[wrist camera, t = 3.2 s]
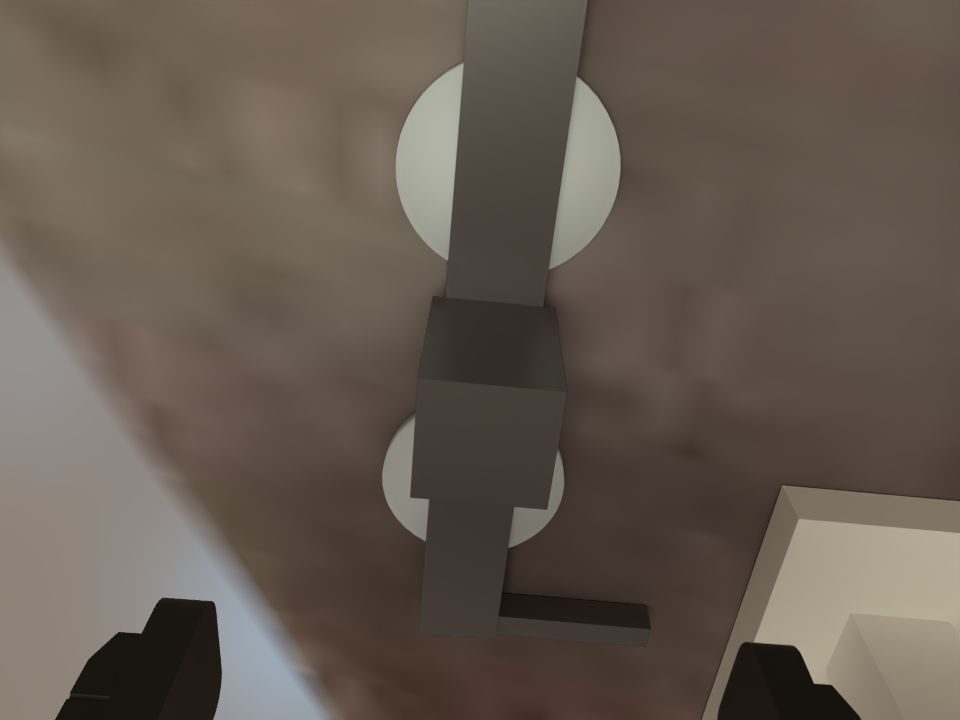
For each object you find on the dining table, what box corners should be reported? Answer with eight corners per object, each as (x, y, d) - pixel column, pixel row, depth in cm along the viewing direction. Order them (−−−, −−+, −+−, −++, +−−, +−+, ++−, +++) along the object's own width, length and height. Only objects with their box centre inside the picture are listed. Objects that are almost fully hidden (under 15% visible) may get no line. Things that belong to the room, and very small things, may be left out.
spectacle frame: (410, -112, 16) (375, -126, 12) (824, -68, 17) (946, -63, 12) (378, 600, 26) (352, 745, 21) (641, 623, 26) (670, 771, 22)
